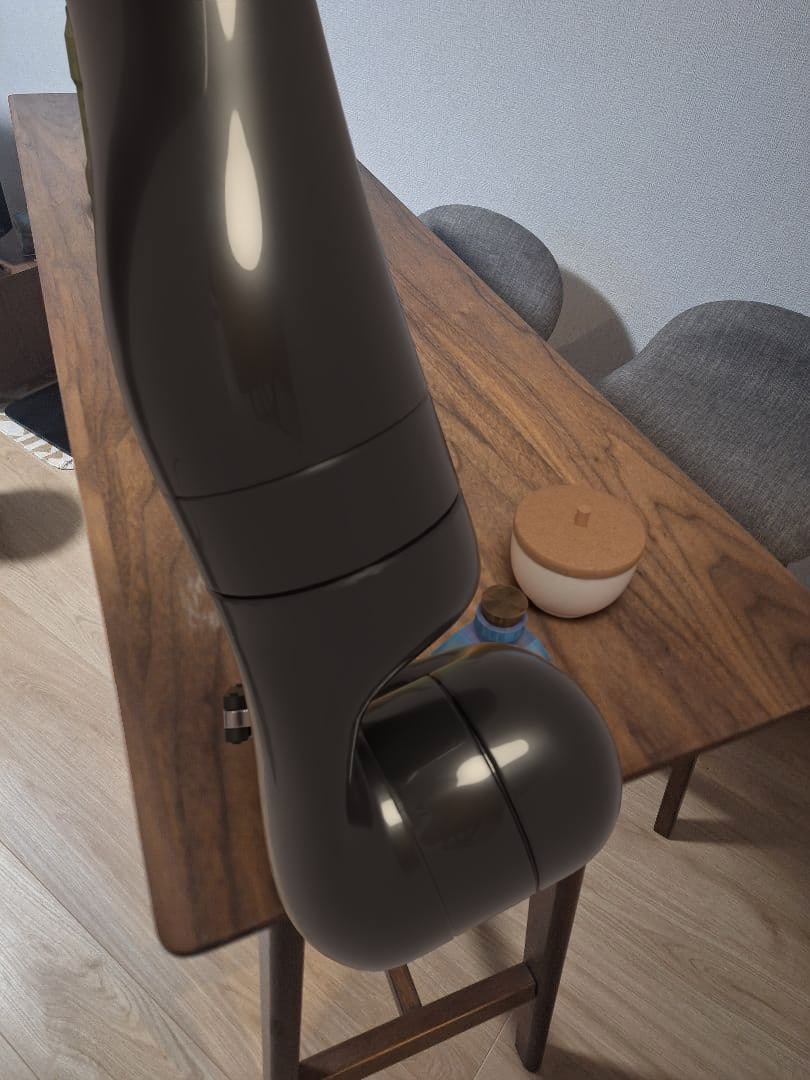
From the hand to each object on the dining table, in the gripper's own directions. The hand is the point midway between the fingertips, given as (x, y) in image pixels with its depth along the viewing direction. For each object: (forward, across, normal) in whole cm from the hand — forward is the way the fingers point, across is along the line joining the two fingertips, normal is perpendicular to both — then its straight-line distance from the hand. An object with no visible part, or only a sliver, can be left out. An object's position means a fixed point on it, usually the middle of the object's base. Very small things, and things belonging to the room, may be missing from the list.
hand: (333, 689), depth 59 cm
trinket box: (+16, -22, -5) cm, 27 cm away
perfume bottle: (+7, -12, +4) cm, 14 cm away
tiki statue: (+74, +19, -64) cm, 100 cm away
